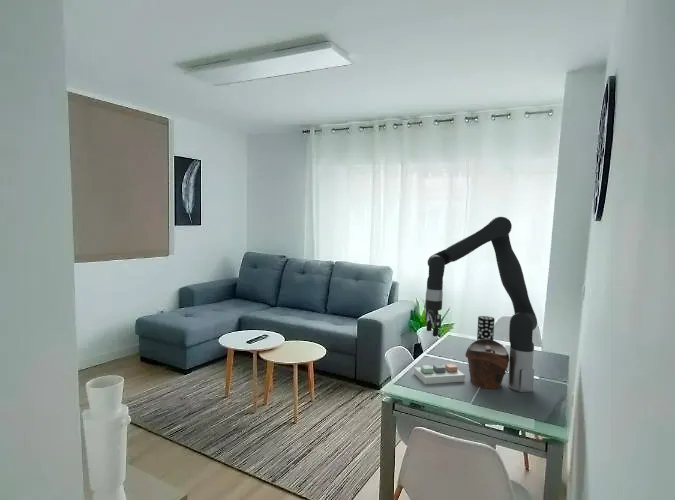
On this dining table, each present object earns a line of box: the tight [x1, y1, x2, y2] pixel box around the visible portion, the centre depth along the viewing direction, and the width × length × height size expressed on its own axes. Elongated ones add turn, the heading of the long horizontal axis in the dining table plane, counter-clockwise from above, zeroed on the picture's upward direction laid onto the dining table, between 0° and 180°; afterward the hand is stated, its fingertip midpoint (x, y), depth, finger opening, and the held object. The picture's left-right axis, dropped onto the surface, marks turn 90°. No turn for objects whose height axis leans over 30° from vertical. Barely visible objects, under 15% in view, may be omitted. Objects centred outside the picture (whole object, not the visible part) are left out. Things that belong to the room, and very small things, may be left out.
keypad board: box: [413, 365, 466, 385], centre depth 179 cm, size 12×19×3 cm, turn 103°
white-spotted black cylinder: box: [476, 315, 495, 341], centre depth 213 cm, size 8×8×20 cm
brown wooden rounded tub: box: [465, 339, 510, 390], centre depth 173 cm, size 18×20×18 cm
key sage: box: [420, 364, 433, 373], centre depth 177 cm, size 4×4×2 cm
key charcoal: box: [432, 364, 445, 372], centre depth 178 cm, size 4×4×2 cm
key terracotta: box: [444, 363, 458, 372], centre depth 180 cm, size 4×4×2 cm
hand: (432, 333), depth 180 cm, fingers open, 8 cm apart
